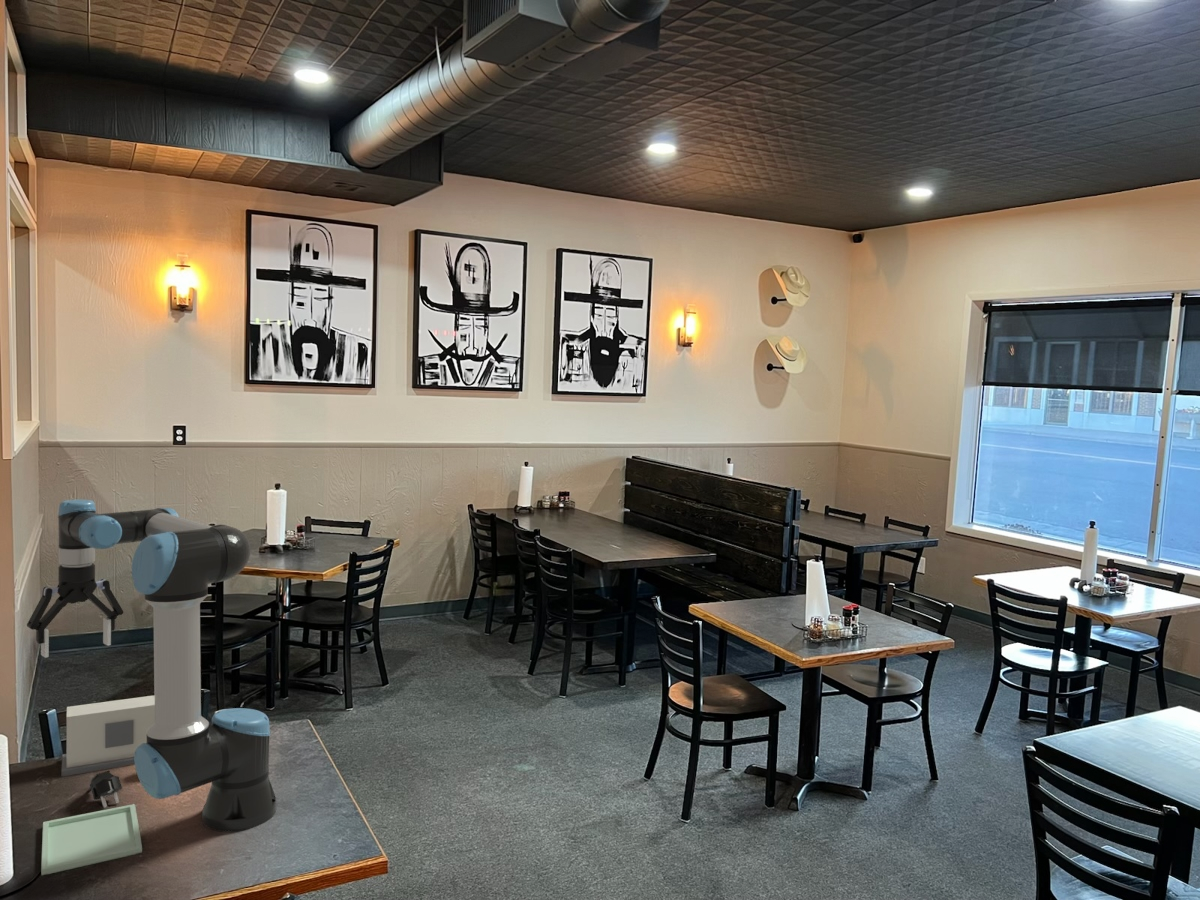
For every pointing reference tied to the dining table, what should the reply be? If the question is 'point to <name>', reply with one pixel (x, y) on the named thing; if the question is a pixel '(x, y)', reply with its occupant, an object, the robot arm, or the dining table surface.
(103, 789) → the power plug
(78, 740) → the box
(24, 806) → the dining table surface
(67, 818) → the tray
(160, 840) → the dining table surface
